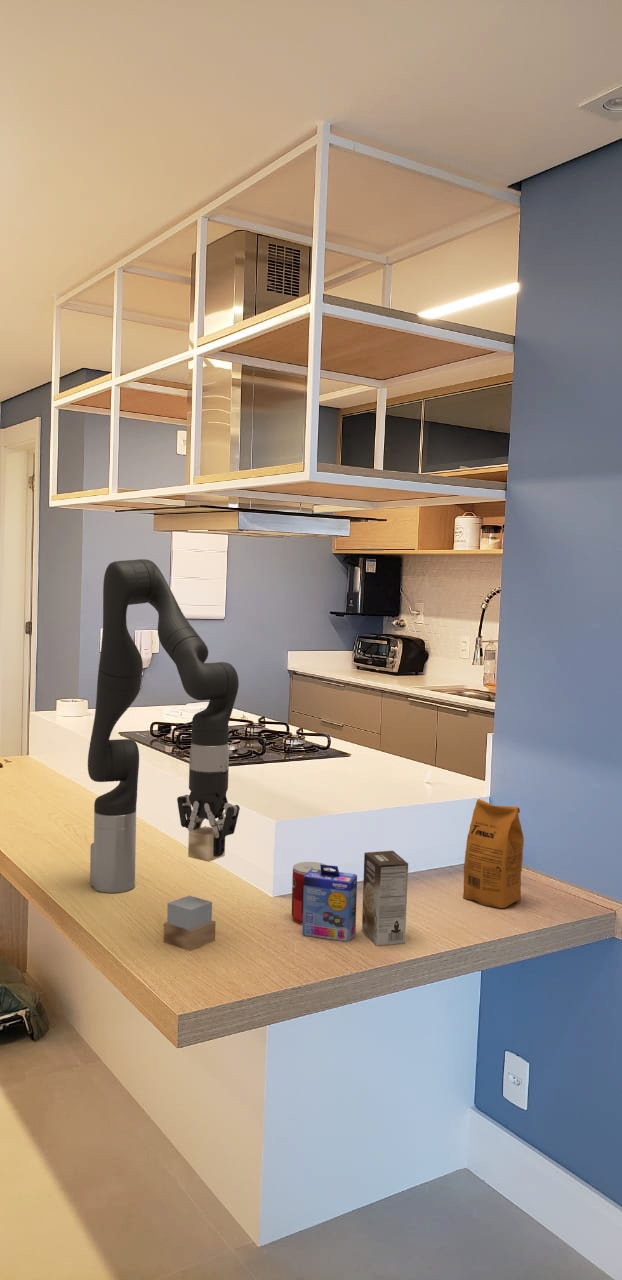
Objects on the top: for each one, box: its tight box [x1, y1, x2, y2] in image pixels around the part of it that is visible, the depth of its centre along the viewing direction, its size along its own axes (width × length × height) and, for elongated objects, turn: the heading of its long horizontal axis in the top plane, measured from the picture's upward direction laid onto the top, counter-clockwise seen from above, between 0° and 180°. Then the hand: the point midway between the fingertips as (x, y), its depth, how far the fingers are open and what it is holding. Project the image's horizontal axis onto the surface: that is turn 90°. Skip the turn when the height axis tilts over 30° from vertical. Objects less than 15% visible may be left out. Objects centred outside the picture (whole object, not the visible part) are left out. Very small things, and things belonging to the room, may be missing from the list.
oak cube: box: [187, 825, 226, 863], centre depth 192 cm, size 5×5×5 cm
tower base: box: [162, 920, 217, 952], centre depth 192 cm, size 7×7×4 cm
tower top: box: [166, 895, 213, 931], centre depth 191 cm, size 6×6×4 cm
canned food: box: [291, 861, 331, 925], centre depth 206 cm, size 8×8×11 cm
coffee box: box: [361, 850, 409, 946], centre depth 197 cm, size 9×6×16 cm
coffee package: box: [462, 798, 525, 909], centre depth 221 cm, size 10×12×22 cm
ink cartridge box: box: [301, 864, 358, 942], centre depth 197 cm, size 10×6×14 cm, turn 73°
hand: (206, 852), depth 192 cm, fingers closed on oak cube, 5 cm apart
